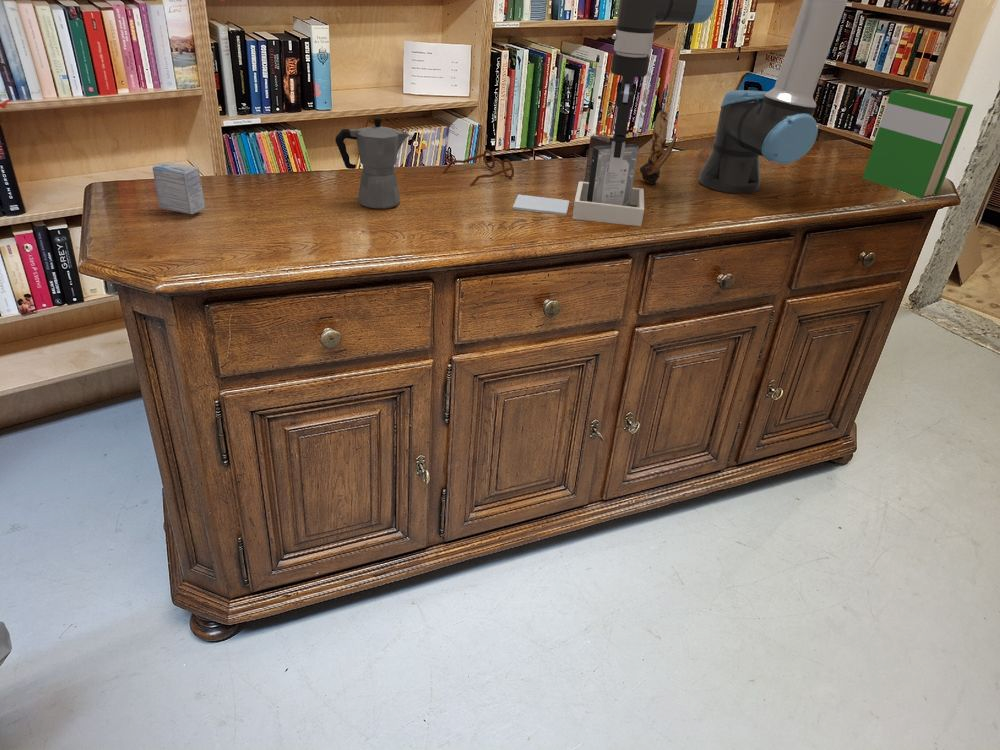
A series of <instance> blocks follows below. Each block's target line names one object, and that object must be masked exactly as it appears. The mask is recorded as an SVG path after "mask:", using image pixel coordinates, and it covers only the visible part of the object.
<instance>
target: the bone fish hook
mask: <svg viewBox="0 0 1000 750" xmlns="http://www.w3.org/2000/svg"><path fill="white" fill-rule="evenodd" d="M667 118H668V112H666V111H664V110H659V112H658V113H657V115H656V118H655V121H654V125H653V130H652V136H651V146H650V153H649V156H648V159H647V162H646V163H645V164H643V165H642V166H641V167H640V168H639V172H640V173H641V175H642V180H643V181H644V182H647V183H648V184H651V185H655V184H656V182H657V181H658V179H659V178H660V174H661V167H663V165H664V163H666V160H667V159H668V158H669V156H670V155H671V153H672V151H673V149H674V147H675V145H676V143H677V135H675V136H674V137H673V139H672V140H671V142H670V143H669V144H668V146H667V147H666V149H665V146H666V140H667V134H668V133H667V132H668V119H667Z"/></svg>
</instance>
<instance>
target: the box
mask: <svg viewBox="0 0 1000 750" xmlns="http://www.w3.org/2000/svg"><path fill="white" fill-rule="evenodd" d="M610 138H612V137H610V136H607V135H604V134H594V135H590V138H589V145H588V146H589V147H588V152H587V153H588V154H587V159H586V160H587V161H586V168H585V175H584V181H583V182H589V180H590V171H591V164H592V155H593V149H594V146H606V145H612V141H610Z"/></svg>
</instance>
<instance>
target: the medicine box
mask: <svg viewBox="0 0 1000 750" xmlns="http://www.w3.org/2000/svg"><path fill="white" fill-rule="evenodd" d="M152 174H153V179H154V185H155V189H156V194H157V201H158V207H159V209H162V210H163V209H164V210H168V211H174V212H177V213H182V214H189V215H194V214H196V213H199V212H201V211H202V210H204V209H206V205H205V204H206V203H205V199H204V192H203V186H202V180H201V175H200V168H199V167H198V166H193V165H187V164H181V163H175V162H171V161H165V162H160V163H159V164H156V165H154V166H152Z"/></svg>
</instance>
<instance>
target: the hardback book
mask: <svg viewBox="0 0 1000 750" xmlns="http://www.w3.org/2000/svg"><path fill="white" fill-rule="evenodd" d="M887 99H888V100H887V103H886V105H885V107H884V108H885V109H884V111H883V114H882V118H881V120H880V123H879V126H878V128H877V133H876V136H875V139H874V141H873V145H872V148H871V151H870V154H869V156H868V160H867V161H866V162H867V164H866V166H865V168H864V172H863V175H862V178H863V179H866V180H869V181H872V182H875V183H878V184H881V185H885V186H888V187H891V188H894V189H897V190H900V191H903V192H906V193H908V194H910V195H909V196H911V195H913V196H912V197H914V196H916V197H915V198H917V197H918V199H921V200H922V199H924V196H926V197H928V196H927V195H931V196H933V195H932V194H935V195H938V196H939V195H940V191H941V189H942V187H943V184H944V181H945V178H946V176H947V173H948V171H949V168H950V165H951V163H952V161H953V158H954V156H955V153H956V151H957V148H958V145H959V143H960V140H961V138H962V135H963V132H964V130H965V127H966V125H967V122H968V119H969V118H970V114H971V112H972V110H973V107H974V104H972V103H967V102H962V101H959V100H953V99H950V98H946V97H941V96H939V95H938V96H937V95H934V94H929V93H925V92H921V91H916V90H911V89H901V90H900V89H897V90H890V92H889V96H888V98H887ZM862 178H861V179H862ZM863 179H862V180H863ZM866 180H865V181H866ZM869 181H868V182H869ZM872 182H871V183H872ZM875 183H874V184H875ZM878 184H877V185H878ZM881 185H880V186H881ZM908 194H907V195H908ZM935 195H934V196H935Z"/></svg>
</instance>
